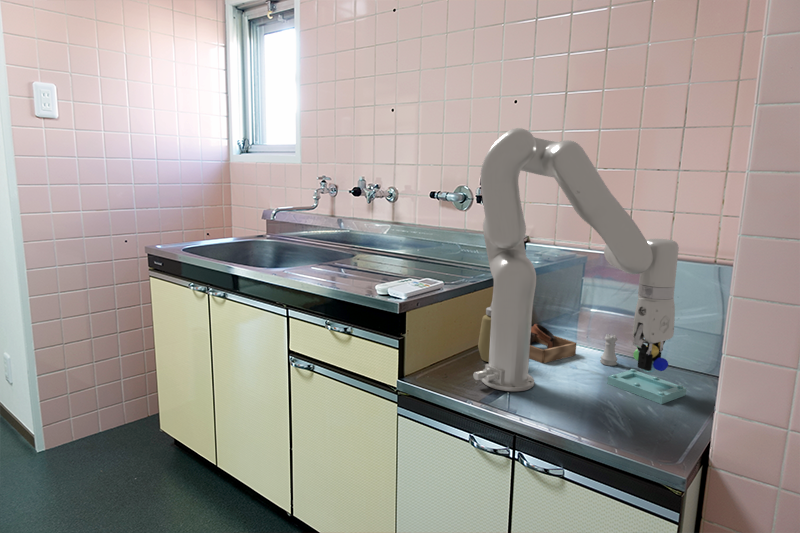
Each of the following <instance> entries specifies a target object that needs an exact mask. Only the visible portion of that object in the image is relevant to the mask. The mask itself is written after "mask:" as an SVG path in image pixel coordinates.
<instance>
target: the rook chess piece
mask: <svg viewBox="0 0 800 533" xmlns="http://www.w3.org/2000/svg"><path fill="white" fill-rule="evenodd" d="M617 338H618V337H617V335H616V334H613V333H612V334H611V333H606V334H605V336H604V340H605V343H604V344H605V348H604V350H603V353H602V355H601V356H600V360H599V362H600V363H601V365H603V366H609V367H615V366H617V365H618V358H617V355H616V348H615V347H616V345H617V344H616V342H617V341H618V339H617Z"/></svg>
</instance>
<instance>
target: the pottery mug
mask: <svg viewBox="0 0 800 533" xmlns="http://www.w3.org/2000/svg"><path fill="white" fill-rule="evenodd" d="M535 335H537V337H538V338H540V339H541V340H543V341H545V342H546V343H548V346H547V347H546V349H549V348H553V341H554V340H555V337H554V336H555V335H554V334H553V333H552V332H551V331H550V330H549V329H547V328H546V327H544V326H543V325H541V324H538V323H534V324H533V326H531V338H530V345H532V344H533V342H535V341H534V339H535Z"/></svg>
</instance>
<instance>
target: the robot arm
mask: <svg viewBox="0 0 800 533" xmlns="http://www.w3.org/2000/svg"><path fill="white" fill-rule="evenodd" d="M521 172H525V173H529V174H535V175H538V176H539V175H540V176H543V177H550V178H554V179H555V181H556V183H557V184H558V186H559V187H560V189H561V190H562V192H563V193H564V195H565V196H566V198H567V200H568V201H569V203H570V204H571V206H572V207H573V208H572V209H573V210H574V212H575V213H576V214H577V215H578V216H579V217H580V218H581V220H583V221H584V222H585V223H586V224H588V225H589V226H590V227H591V228H592V229H594V230H595V232H596V233H597V234H598V235H599V236H600V238H601V239H602V240H603V242H604V244H606V245H605V246H604V249H603V255H604V258H605V261H607V263H609V265H611V266H612V267H614V268H616V269H618V270H620V271H622V272H624V273H626V274H629V275H639V278H638V279H639V280H638V290H637V292H638V293H637V301H636V306H635V312H634V318H633V325H632V337H633V341H632V345H633V346H635V347H636V349H638V352H639V356H638V361H637V368H638V369H641V370H642V369H644V370H647V371H651V368H652V361H655V360H656V359H657V358H662V352H663V350H664V344H665V343H666V342H667V341H669V340H670V339H672V338H673V337H674V332H675V316H676V312H675V310H676V309H675V307H676V306H675V298H674V297H675V288H676V287H675V286H676V276H677V267H678V260H679V258H678V257H679V247H680V246H679V244H678V243H677V241H675V240H673V239H667V238H649V239H646V237H645V236H644V234H643V232H642V231H641V229H640V227H638V225H637V224H636V222H635V221H634V219H633V217H631V215H629V213H628V211H627V210H625V208H624V207H623V206H622V205H621V203H620V202H619V200H618V199H617V198H616V197H615V196H614V195H613V193H612V192H611V191H610V189H609V188H608V185H606V183H605V182H604V180H603V178H602V177H601V175H600V174H599V171H598V170H597V168H596V167H595V165H594V164H593V162H592V160H591V159H590V157H589V156H588V154H587V153H586V151H585V150H584V148H583V147H582V146H581V145H580V144H579V143H578V142H577V141H573V140H561V141H553V140H549V139H548V140H547V139H543V138H539V137H536V136H534V135H533V133H531V132H530V131H529V130H527V129H525V128H522V127H521V128H519V127H517V128H512V129H510V130H507V131H506V132H505V133H502V135H501V136H500V137H499V138H498V139H496V141H495V142H494V143H493V144H492V145H491V147H490V148H489V150H488V151H487V153H486V155H485V157H484V159H483V162H482V165H481V170H480V189H481V190H480V191H481V197H482V206H483V209H484V210H483V212H484V219H483V224H482V231H483V237H484V243H485V249H486V254H487V259H488V265H489V270H490V273H491V276H492V280H493V289H492V299H491V303H492V309H491V331H490V350H489V362H488V363H485V366H484V368H483V369H482V370H478V371H474V372H473V375H472V376H473V379H474V380H475V381H479V380H480V381H481V382H482V383H483V384H484V385H486V386H487V387H490V388H492V389H495V390H498V391H503V392H504V391H505V392H515V393H516V392H523V391H527V390H531V389H532V388H533V387H534V386H535V378H534V377H533V376H532V375H530V374H529V364H530V358H529V353H530V338H531V327H532V320H533V307H534V298H535V294H536V293H535V291H536V286H537V272H536V269H535V267H534V264H533V263H532V261H531V260H530V258H528V257H527V254H526V253H527V252H526V248H525V242H524V239H525V236H526V234H527V232H526V231H527V225H526V221H525V217H524V213H523V207H522V202H521V196H520V195H521V193H520V187H519V178H520V173H521ZM652 344H653V345H655V346H657V347H658V349H659V353H658V355H657V356H655V357H654V358H653V355H652V354H651V351H652Z"/></svg>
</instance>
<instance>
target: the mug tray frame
mask: <svg viewBox="0 0 800 533" xmlns="http://www.w3.org/2000/svg"><path fill="white" fill-rule="evenodd" d="M554 337H555V340H554V341H553V348H549V349H547V348H545V349H542V348H540V347H537V346H534V345H532V344H531V345H530V353H529V360H532V361H535V362H538V363H540V364H543V363H544V364H547V363H550V362H554V361H555V362H556V361H558V360H562V359H565V358H570V357H574V356H576V353H577V342H574V341H572V340H569V339H566V338H563V337H560V336H556V335H554ZM533 342H534V343H535V342H536V343H538V344H540V345H541V344H542V345H544V346H547V347H548V343H546V342H545V341H543V340H541V339H540V338H538V337H537V335H535V339H534V341H533Z"/></svg>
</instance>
